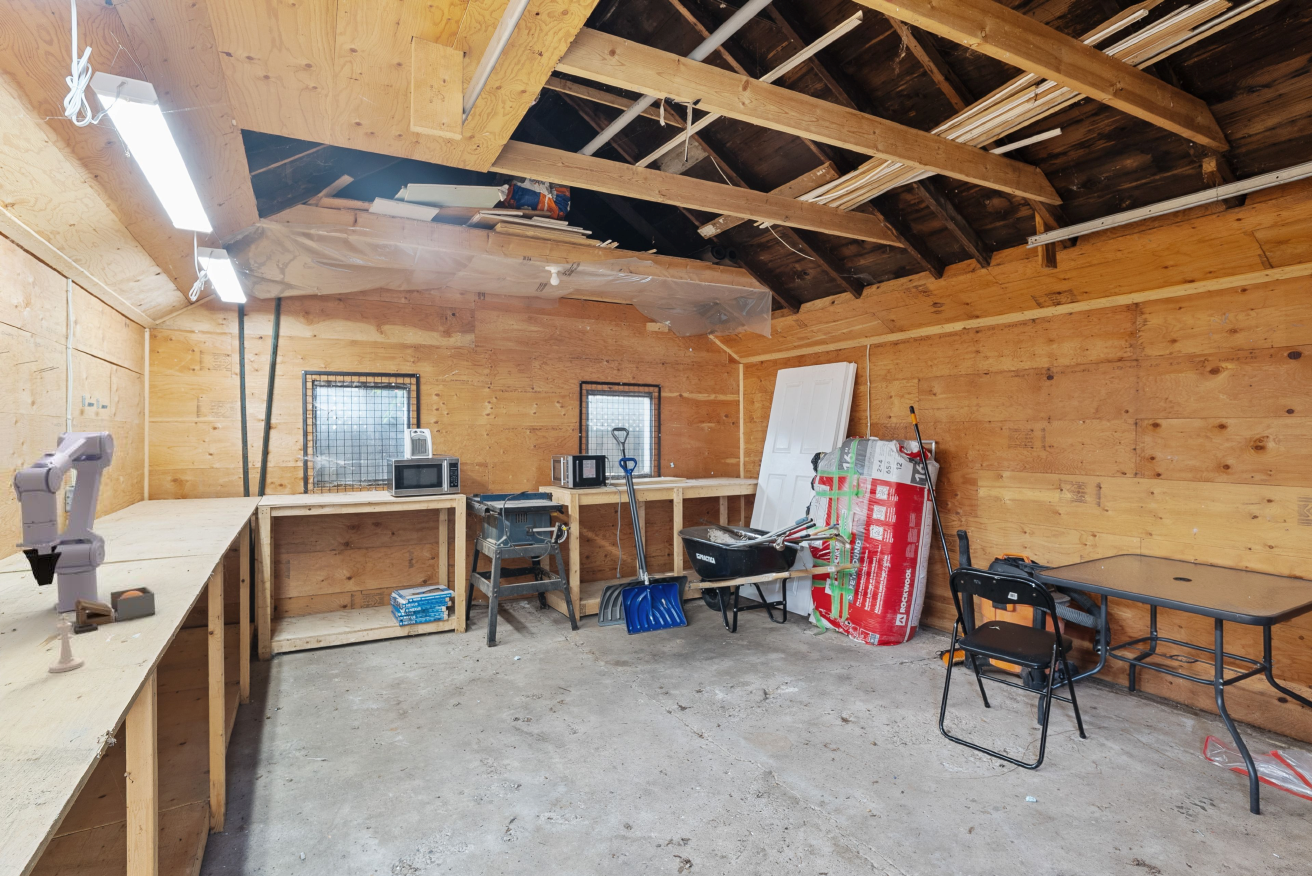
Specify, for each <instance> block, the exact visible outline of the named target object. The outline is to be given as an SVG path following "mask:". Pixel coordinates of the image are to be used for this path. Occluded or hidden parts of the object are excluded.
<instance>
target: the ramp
mask: <svg viewBox="0 0 1312 876" xmlns="http://www.w3.org/2000/svg"><path fill="white" fill-rule="evenodd" d="M74 611H75V620H76V623H77V625H78V626H80V625H85V624H91V623H96V624H97V626H99V625H104V624H109V623H110V624H111V623H115V622H116V621H115V615H114V610H113V609H112V608H111V604H109V603H103V602H102V603H98V602H93V601H88V600H83V599H77V601H76V602H75V610H74Z"/></svg>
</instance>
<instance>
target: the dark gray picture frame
mask: <svg viewBox="0 0 1312 876" xmlns="http://www.w3.org/2000/svg"><path fill="white" fill-rule="evenodd" d="M98 630H99V625H97V624H96V623H91V624H85V625H80V626H79V625H75V626H73V631H74V633H75V634H76V635H79V634H82V633H89V632H92V631H98Z"/></svg>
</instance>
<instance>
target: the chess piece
mask: <svg viewBox="0 0 1312 876" xmlns="http://www.w3.org/2000/svg"><path fill="white" fill-rule="evenodd" d="M58 620H59V621H61V623H60V624H58V625H57V626H56V628H57V629H58V631H59V633H60V635H59V637H57V641H61V651H60V657H59V658H58V659H57V662H54V663H52V664H50V665H49V667H48V668H49V669H48V672H49V673H63V672H68V671H73V670H75V669H78V668H81V667H82V666H84V665H85V662H84V661H85V659H83V658H80V657H79V658H77V657H75V656H73V654H72V649H71V645H70V639H72V638H74V636H73V634H70V632H71V628H72V625H73V624H72V623H71V622H67V621H69V620H70V617H68V616H67V613H64V614H63V613H62V614H61V616H60V617H59V619H58Z"/></svg>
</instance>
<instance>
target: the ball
mask: <svg viewBox="0 0 1312 876" xmlns="http://www.w3.org/2000/svg"><path fill="white" fill-rule="evenodd" d="M138 595H143V594H142V593H141V592H138V591H130V592H127V593H125V594H123V595H122V596H121V597H120V599H121V598H127V597H133V596H138Z"/></svg>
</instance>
